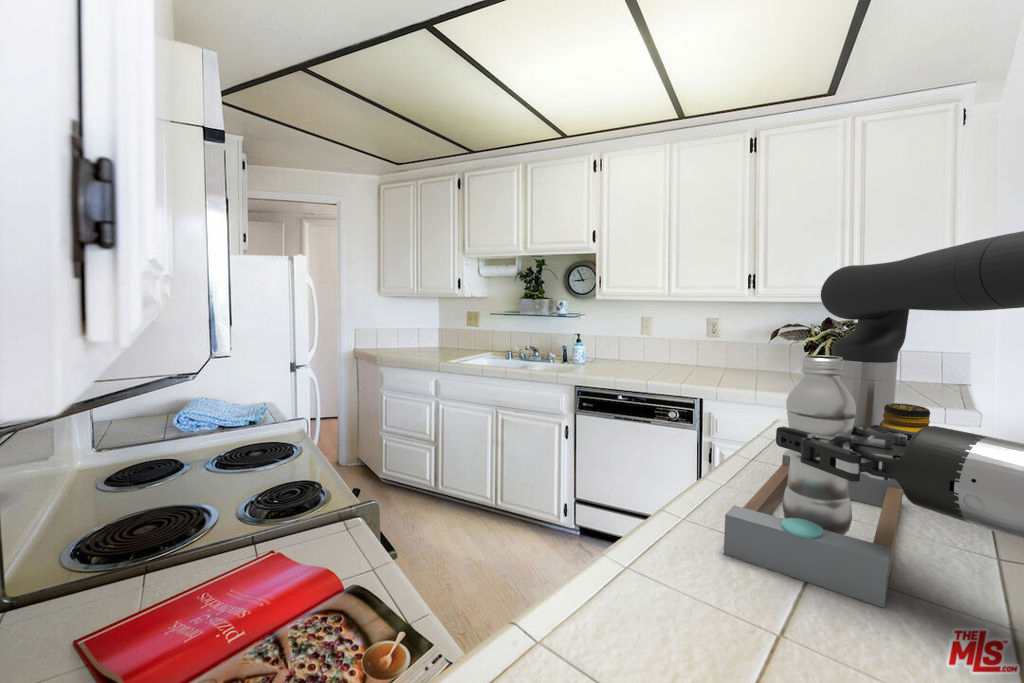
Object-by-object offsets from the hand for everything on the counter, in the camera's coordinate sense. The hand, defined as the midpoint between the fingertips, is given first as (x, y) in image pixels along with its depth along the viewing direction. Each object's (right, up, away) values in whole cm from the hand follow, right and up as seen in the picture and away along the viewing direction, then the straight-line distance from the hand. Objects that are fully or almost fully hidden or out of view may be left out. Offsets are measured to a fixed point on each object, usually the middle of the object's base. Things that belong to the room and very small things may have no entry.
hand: (798, 432), depth 55 cm
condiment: (+24, -11, +17) cm, 31 cm away
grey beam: (+14, -11, +13) cm, 22 cm away
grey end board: (-4, -13, -6) cm, 15 cm away
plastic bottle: (+1, -11, -1) cm, 11 cm away
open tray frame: (+5, -12, +4) cm, 14 cm away
